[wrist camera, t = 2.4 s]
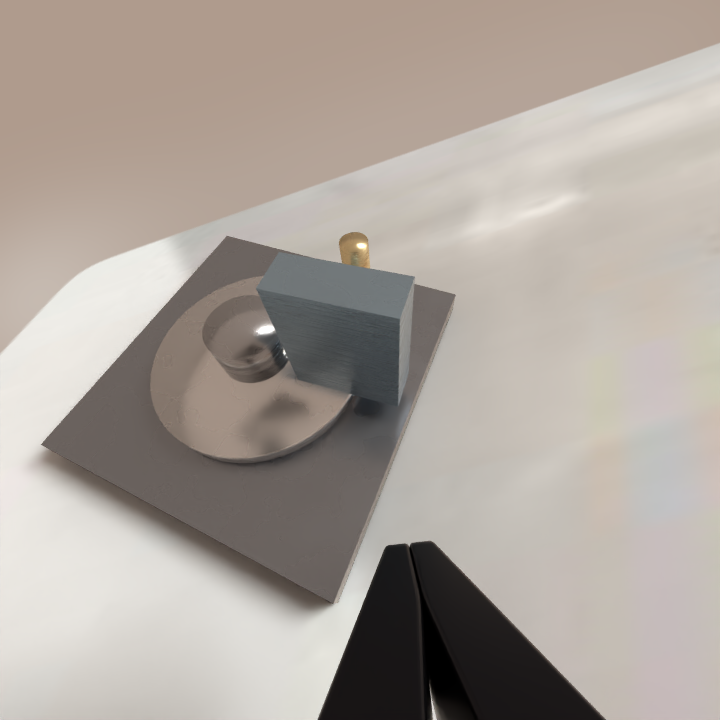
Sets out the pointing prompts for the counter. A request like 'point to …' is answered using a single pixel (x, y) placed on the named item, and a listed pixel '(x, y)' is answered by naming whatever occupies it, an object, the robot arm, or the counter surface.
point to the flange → (282, 357)
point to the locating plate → (259, 479)
